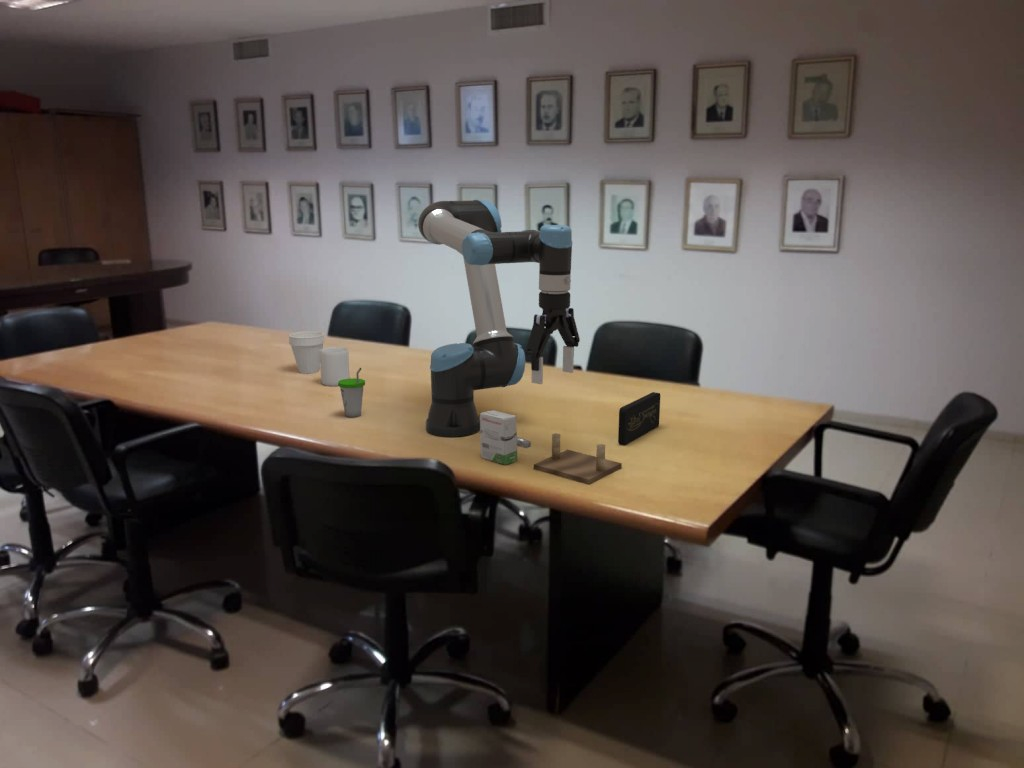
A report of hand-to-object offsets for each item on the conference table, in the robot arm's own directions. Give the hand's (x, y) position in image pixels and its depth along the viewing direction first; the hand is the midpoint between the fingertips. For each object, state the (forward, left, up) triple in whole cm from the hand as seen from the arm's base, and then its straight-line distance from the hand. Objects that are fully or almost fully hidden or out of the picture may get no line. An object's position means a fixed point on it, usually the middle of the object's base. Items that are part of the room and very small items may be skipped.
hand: (552, 377), depth 199 cm
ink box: (-9, -10, -21) cm, 25 cm away
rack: (+10, -3, -20) cm, 23 cm away
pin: (-13, +3, -21) cm, 24 cm away
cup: (-67, -8, -21) cm, 70 cm away
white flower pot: (-123, +18, -21) cm, 126 cm away
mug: (-103, +13, -21) cm, 106 cm away
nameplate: (+8, +29, -21) cm, 36 cm away
